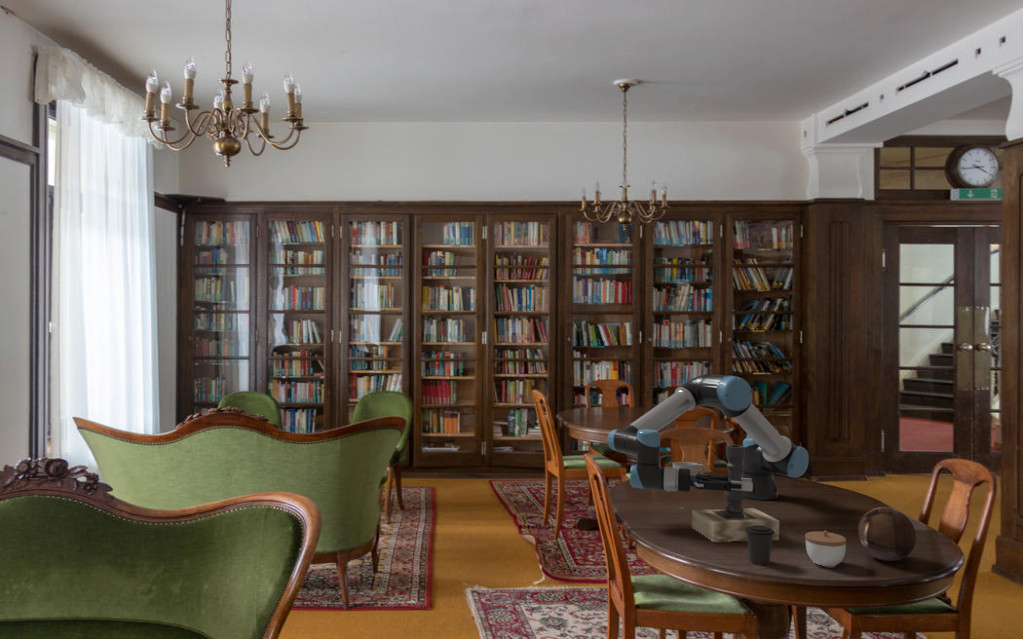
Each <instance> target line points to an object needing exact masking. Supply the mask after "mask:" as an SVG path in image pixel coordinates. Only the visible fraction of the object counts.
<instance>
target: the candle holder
mask: <svg viewBox="0 0 1023 639" xmlns="http://www.w3.org/2000/svg"><path fill="white" fill-rule="evenodd" d="M725 456H726V459H727V462H728V463H727V464H726V467H727V469H728V475H729V479H728V481H730V482H731V481H741V477H742V468H743V465H742V460H743V457H744V446H743V445H740V444H737V445H736V444H727V445H726V446H725ZM741 482H742V481H741ZM724 498H725V499H726V501H727V504H726V506H725V508H724V509H725V510H726V512H725V513H724V516H725V517H727V518H728V519H730V518H744V514H743V513H742V512H743V508H744V507H743V506H742V502H743V501H744V499H745V497H744V491H741V490H731V492H728V491H724Z"/></svg>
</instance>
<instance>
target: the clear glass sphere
mask: <svg viewBox="0 0 1023 639" xmlns="http://www.w3.org/2000/svg"><path fill="white" fill-rule="evenodd" d="M857 536H858V540H859V542H860V544H861V546H862V547H863V549H864V550H865V551H866V552H867V553H868V554H870V555H871V556H872V557H874V558H876V559H878V560H880V561H886V562H897V561H899V560H903V559H905V558H906V557H908V555H910V554H911V552H913V549H914V548H915V546H916V542H917V541H916V540H917V534H916V530H915V526H914V525H913V523H912V522H911V520H910V519H909V518H908V517H907V515H906V514H904V513H903V512H901V511H899V510H898V509H894V508H891V507H888V506H887V507H886V506H882V507H881V506H880V507H875V508H872V509H870V510H868V511H866V513H864V514H863V516H861V518H860V520H859V521H858V526H857Z"/></svg>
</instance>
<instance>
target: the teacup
mask: <svg viewBox="0 0 1023 639" xmlns="http://www.w3.org/2000/svg"><path fill="white" fill-rule="evenodd" d="M700 467H702V471H700V472H699V469H700ZM672 468H677V470H679V469H680V468H685V469H690V475H691V476H692V475H696V474H699V473H700V474H705V472H706V465H704V464H702V463H697V462H691V461H690V462H688V461H678V462H677V461H676V462H672Z"/></svg>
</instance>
